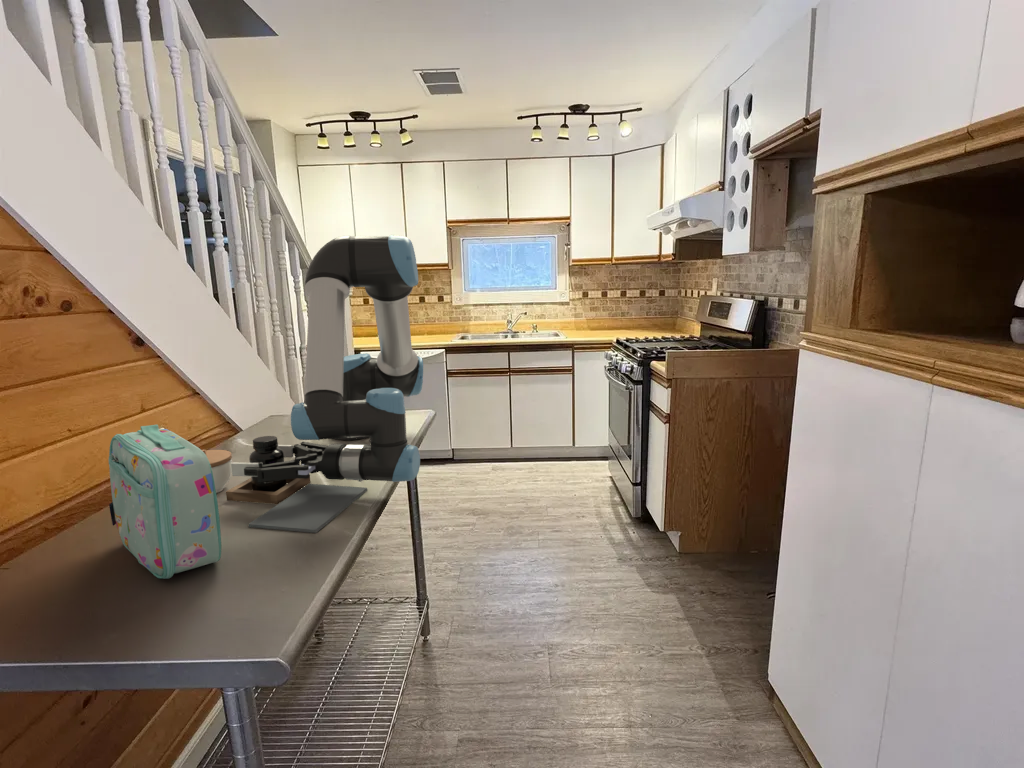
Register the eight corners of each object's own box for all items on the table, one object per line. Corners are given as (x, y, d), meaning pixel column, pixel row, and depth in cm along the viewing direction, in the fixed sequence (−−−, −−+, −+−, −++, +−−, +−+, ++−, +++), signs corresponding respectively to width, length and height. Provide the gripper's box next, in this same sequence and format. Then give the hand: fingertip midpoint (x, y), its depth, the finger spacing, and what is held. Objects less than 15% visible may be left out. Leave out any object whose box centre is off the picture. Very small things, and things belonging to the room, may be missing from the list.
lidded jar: (173, 491, 117) (167, 451, 116) (225, 478, 125) (220, 439, 123) (189, 505, 110) (182, 462, 108) (243, 489, 118) (238, 449, 116)
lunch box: (110, 541, 95) (89, 426, 91) (174, 521, 103) (157, 413, 99) (162, 596, 79) (139, 457, 74) (234, 566, 86) (217, 439, 82)
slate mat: (309, 486, 119) (309, 483, 119) (367, 490, 116) (367, 487, 116) (248, 526, 100) (248, 523, 100) (316, 533, 97) (315, 529, 97)
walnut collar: (264, 479, 124) (263, 471, 123) (310, 482, 121) (309, 474, 121) (226, 500, 112) (225, 491, 112) (277, 504, 110) (276, 495, 109)
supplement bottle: (274, 498, 113) (268, 444, 110) (246, 496, 114) (239, 442, 112) (293, 486, 119) (288, 434, 117) (266, 484, 121) (260, 433, 118)
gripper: (321, 501, 102) (216, 497, 105) (368, 459, 125) (280, 457, 128) (318, 464, 101) (211, 461, 104) (366, 429, 124) (277, 427, 126)
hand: (249, 459), depth 116 cm, fingers open, 11 cm apart
